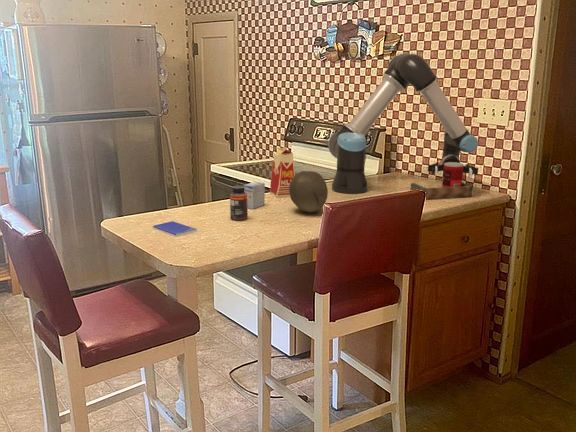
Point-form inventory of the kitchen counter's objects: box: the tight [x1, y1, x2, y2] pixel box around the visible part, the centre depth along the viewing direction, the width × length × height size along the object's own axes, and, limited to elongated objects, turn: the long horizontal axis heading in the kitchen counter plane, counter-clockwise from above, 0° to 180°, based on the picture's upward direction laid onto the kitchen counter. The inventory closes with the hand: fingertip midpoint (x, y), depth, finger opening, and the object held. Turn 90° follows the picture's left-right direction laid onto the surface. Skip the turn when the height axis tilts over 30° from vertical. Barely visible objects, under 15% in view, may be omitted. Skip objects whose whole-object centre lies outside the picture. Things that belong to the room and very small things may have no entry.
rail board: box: [410, 182, 473, 201], centre depth 235 cm, size 22×11×4 cm, turn 107°
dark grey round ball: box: [289, 170, 329, 214], centre depth 205 cm, size 14×14×15 cm
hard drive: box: [152, 220, 198, 238], centre depth 183 cm, size 2×8×12 cm
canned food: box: [441, 162, 465, 187], centre depth 236 cm, size 8×8×11 cm
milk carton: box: [269, 146, 296, 198], centre depth 230 cm, size 9×9×20 cm
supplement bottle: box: [229, 185, 249, 222], centre depth 196 cm, size 6×6×11 cm
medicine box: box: [243, 181, 266, 210], centre depth 212 cm, size 8×4×9 cm, turn 149°
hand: (453, 173), depth 232 cm, fingers open, 13 cm apart
